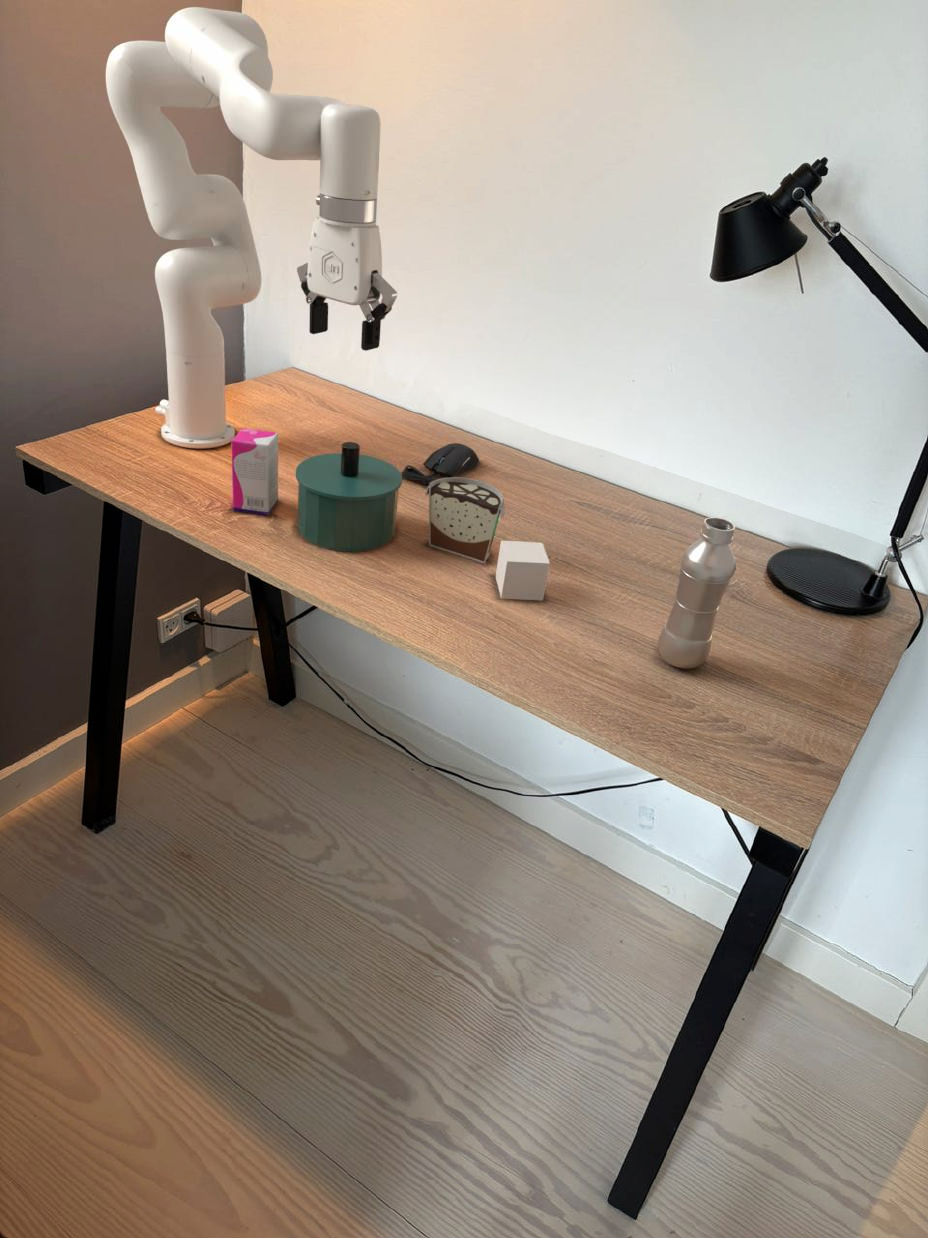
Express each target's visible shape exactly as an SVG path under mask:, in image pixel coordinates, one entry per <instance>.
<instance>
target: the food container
mask: <svg viewBox="0 0 928 1238" xmlns="http://www.w3.org/2000/svg"><path fill="white" fill-rule="evenodd" d="M437 479H438V478H437ZM424 495H425V496H428V546H429V547H432V548H435V549H438V550H441V551H445V552H447V553H450V554H454V555H456V556H460V557H463V558H465V559H468V560H472V561H474V562H477V563H478V562H479V563H482V564H484V565H485V564H487V562H488V561H489V557H490V553H491V549H492V545H493V542H494V537H495V534H496V530H497V526H498V523H499V519H503V518H504V517H505V513H506V510H505V509H506V508H505V507H506V506H505V500H504V495H503V494H502V493H501V491H500V490H499V489H498V488H496V487H495V486H493V485H491V484H489V483H487V482H484V481H482V480H477V479H474V478H468V477H457V476H454V477H451V478H450V477H443V478H439V479H438V480H435V481H432V482H431V483H430V484H429V486H426V491H425V494H424Z"/></svg>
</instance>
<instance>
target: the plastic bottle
mask: <svg viewBox="0 0 928 1238" xmlns="http://www.w3.org/2000/svg"><path fill="white" fill-rule="evenodd" d="M735 530H736V525H735V524H734V523H733V522H731V521H730V520H727V519H726V518H722V517H715V516H714V517H713V516H711V517H706V518H705V519H704V520H703V523H702V527H701V529H700V532H699V537H700V538H699V539H697V540H696V541H694V542H693V543H692V544H690V546H689V547H687V548H686V550H685V551H684V553H683V554H682V556H681V562H680V567H679V568H680V570H679V578H678V584H677V589H676V595H675V597H674V598H675V599H674V602H673V605H672V607H671V609H670V612H669V615H668V618H667V620H666V622H665V624H664V626H663V627H662V629H661V631H660V634H659V635H658V641H657V651H658V654H659V656H660V658H661V660H663V661H664V662H665V663H667V664H668V665H670V666H672V667H675V668H680V669H686V670H687V669H695V668H697V667H699V666H700V665H702V664H703V663H705V661H706V659H707V658H708V656H709V654H710V652H711V648H712V641H713V640H712V639H713V630H714V625H715V622H716V617H717V613H718V609H719V608H720V605H721V602H722V600H723V597H724V594H725V593H726V591H727V589H728V587H729V584H730V583H731V581H732V579H733V577H734V574H735V573H736V570H737V560H736V557H735V554H734V552H733V550H732V548H731V545H730V544H731V543H733V540H734V534H735Z"/></svg>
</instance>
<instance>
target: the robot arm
mask: <svg viewBox="0 0 928 1238" xmlns="http://www.w3.org/2000/svg"><path fill="white" fill-rule="evenodd" d="M273 78H274V72H273V67H272V63H271V61H270V58H269V46H268V40H267V37H266V35H265V32H264V30H263V29H262V27H261V25H260V24H259V23H258V22H257V21H256V20H255V18H253V17H252V16H250V15H248V14H246V13H243V12H239V11H232V10H225V9H224V10H223V9H216V8H208V7H201V6H199V7H198V6H190V7H186V8H185V7H184V8H182V9H180V10H177V11H176V12H175V13H173V15H172V16H171V17H170V18H169V19H168V21H167V23H166V26H165V31H164V41H157V40H130V41H126V42H123V43H121V44H118V45H117V46H115V47H114V48H113V49H112V50H111V52H110V53H109V55H108V58H107V61H106V66H105V87H106V92H107V98H108V101H109V105H110V108H111V110H112V112H113V115H114V118H115V120H116V122H117V124H118V126H119V129H120V131H121V132H122V135H123V137H124V139H125V141H126V144H127V146H128V149H129V151H130V155H131V158H132V162H133V166H134V170H135V173H136V174H135V175H136V177H137V181H138V185H139V189H140V192H141V195H142V199H143V203H144V207H145V211H146V214H147V217H148V220H149V223H150V225H151V227H152V229H153V231H154V233H155V234H156V235H157V236H159V237H160V238H163V239H165V240H171V241H172V240H173V241H178V240H179V241H185V240H186V241H187V240H198V239H200V240H201V239H210V240H211V242H212V244H213V245H209V246H208V245H203V246H191V247H190V246H189V247H181V248H175V249H172V250H169V251H167V252H166V253H164V254H163V255H161V256H160V257H159V259H158V260H157V262H156V264H155V267H154V268H155V269H154V280H155V286H156V290H157V293H158V298H159V302H160V306H161V311H162V320H163V328H164V342H165V355H166V356H165V357H166V371H167V372H166V375H167V391H168V393H167V395H168V399H161V400H160V402H159V405H158V406H156V407H155V409H154V410H155V414H157V415H160V416H164V418H165V423H163V424H162V425H161V428H160V433H161V438H162V439H164V440H165V441H166V442H167V443H169V444H172V445H174V446H178V447H181V448H187V449H212V448H218V447H222V446H225V445H228V444H230V443H231V441H232V439H233V438H234V437H235V436H236V430H235V427H234V426H233V425H232V424H230V422H227V411H226V410H227V408H226V364H225V363H226V362H225V361H226V360H225V338H224V334H223V331H222V329H221V327H220V325H219V324H218V322H217V321H216V319H215V318H214V317H213V315H212V310H214V309H219V308H224V307H225V308H226V307H231V306H240V305H245V304H248V303H251V302H252V301H255V299H257V297H258V296H259V294H260V292H261V288H262V270H261V265H260V261H259V257H258V251H257V248H256V243H255V239H254V235H253V231H252V227H251V222H250V218H249V215H248V210H247V206H246V203H245V201H244V197H243V195H242V193H241V192H240V190H239V189H238V187H237V185H236V184H235V183H234V182H233V181H232V180H230V178H227V177H225V176H224V175H220V174H214V173H209V174H208V173H207V174H205V173H204V174H201V173H200V174H197V173H196V172H195V171H194V169H193V167H192V164H191V161H190V157H189V153H188V152H189V151H188V148H187V144H186V142H185V140H184V138H183V137H182V135H181V134H180V132H179V130H178V129H177V128H176V126H175V125H174V123H172V121H171V120H170V119H169V118H168V117H167V116H166V115H165V114H164V113H163V112H162V110H161V108H162V107H165V108H166V107H167V108H168V107H169V108H187V109H212V108H215V107H218V106H220V110H221V114H222V117H223V119H224V122H225V124H226V126H227V129H229V131H230V132H231V133H232V134H233V135H234V136H235V137H236V138H237V139H238V140H239V141H241V142H242V144H245V145H246V146H247V147H248V148H250V150H252V151H254V152H255V153H257V154H258V155H260V156H262V157H264V158H266V159H270V160H274V161H320V163H319V194H318V195H316V198H315V203H316V205H317V206H319V212H318V213H319V215H318V216H316V217H314V221H313V224H312V229H311V233H310V241H309V249H308V258H307V262H306V263H304V264H302V265H299V266H297V267H296V272H297V276H298V279H299V282H300V288H301V290H302V292H303V294H304V295H305V302H306V304H307V305H309V329H308V330H309V334H311V335H317V334H321V333H326V332H327V331H328V330H329V302H326V300H327V299H329V300H331V301H335V302H338V303H342V304H345V305H350V306H359V308H360V310H361V312H362V314H363V316H364V318H365V320H362V322H361V338H360V339H361V342H360V348H361V350H363V351H365V352H367V351H371V350H374V349H378V348H379V347H380V341H381V325H382V324H381V323H382V320H385V318H386V316H387V315H388V314H389V313H390V312H391V311H392V309H393V306H394V303H396V300H397V298H398V291H397V290H396V289H395V288H394V287H393V286H392V285H391V284H390V283H389V282H387V280H386V279H385V278H384V277H383V253H382V252H383V251H382V241H381V240H382V239H381V233H380V227H379V225H377V212H378V211H377V210H378V189H379V188H378V187H379V168H380V167H379V166H380V165H379V164H380V147H381V146H380V145H381V144H380V143H381V127H382V126H381V117H380V115H379V113H378V112H377V111H376V109H374V108H373V107H370V106H365V105H360V104H359V105H358V104H350V103H345V102H343V101H341V100H338V99H336V98H332V97H328V96H317V95H315V96H311V95H299V94H288V93H287V94H285V93H283V94H281V93H280V94H279V93H272V92H271V90H272V86H273V81H274V79H273ZM380 298H381V301H379V300H380Z"/></svg>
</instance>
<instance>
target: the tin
mask: <svg viewBox="0 0 928 1238" xmlns="http://www.w3.org/2000/svg"><path fill="white" fill-rule="evenodd" d="M297 482H298V481H297ZM399 489H400V488H399ZM399 489H398V490H397V491H396V492H394V493H393V494H391V495H388V496H386V497H382V498H379V499H373V500H362V501H351V500H340V499H334V498H329V497H325V496H321V495H318V494H316V493H313V492H311V491H309V490H307V489H306V488H304V487H303V486H302V485H300V483H299V482H298V487H297V490H298V491H297V530H298V532H299V534H300V535H301V537H302V538H304V539H305V540H306V541H308V542H310V543H311V544H313V545H315V546H318V547H320V548H324V549H327V550H332V551H339V552H365V551H370V550H374V549H378V548H380V547H383V546H384V545H387V544H388V543H390V541H391V540H392V539H393V537H394V535H395V531H396V524H397V514H398V513H397V512H398V511H397V510H398V503H399V501H398V500H399Z"/></svg>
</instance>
